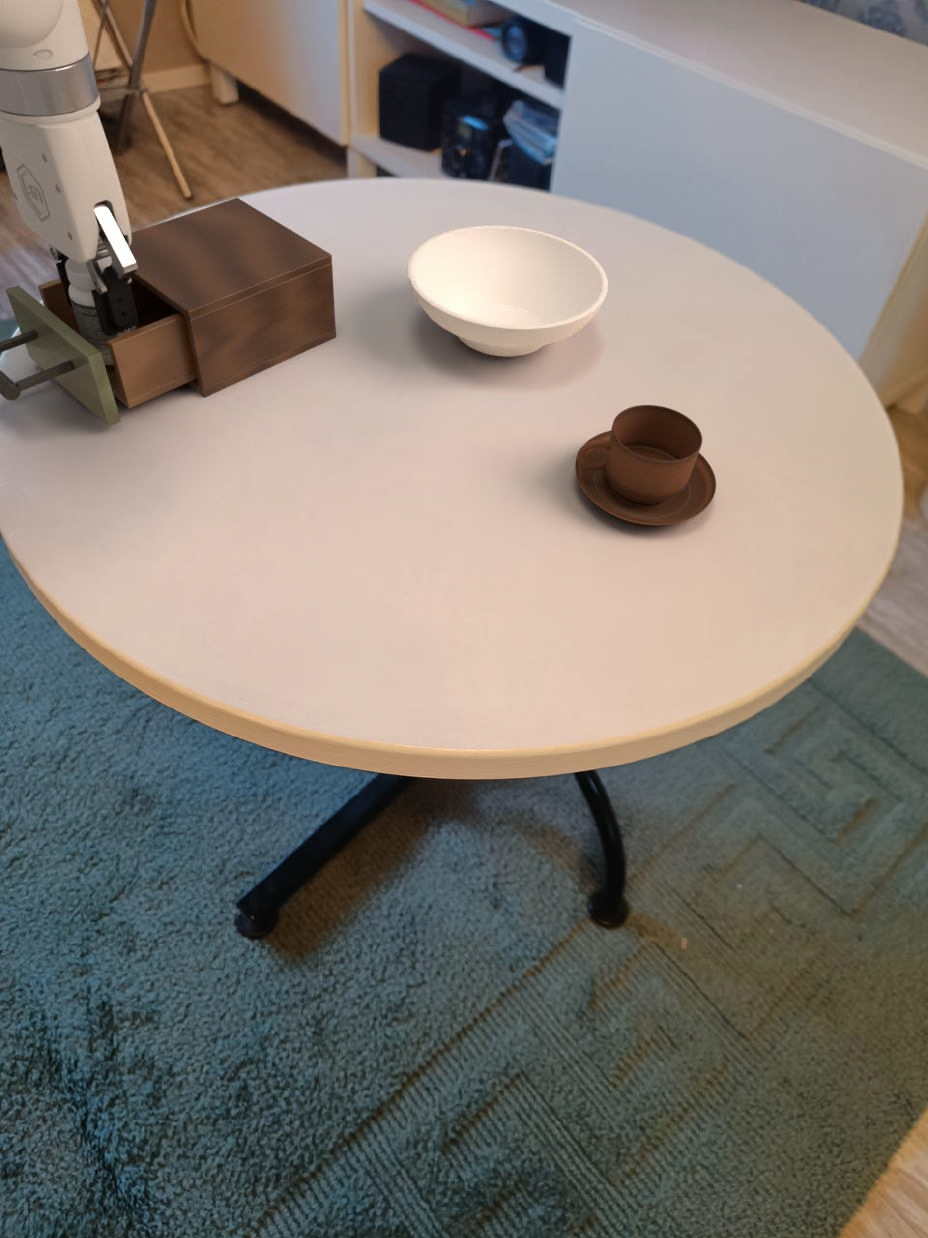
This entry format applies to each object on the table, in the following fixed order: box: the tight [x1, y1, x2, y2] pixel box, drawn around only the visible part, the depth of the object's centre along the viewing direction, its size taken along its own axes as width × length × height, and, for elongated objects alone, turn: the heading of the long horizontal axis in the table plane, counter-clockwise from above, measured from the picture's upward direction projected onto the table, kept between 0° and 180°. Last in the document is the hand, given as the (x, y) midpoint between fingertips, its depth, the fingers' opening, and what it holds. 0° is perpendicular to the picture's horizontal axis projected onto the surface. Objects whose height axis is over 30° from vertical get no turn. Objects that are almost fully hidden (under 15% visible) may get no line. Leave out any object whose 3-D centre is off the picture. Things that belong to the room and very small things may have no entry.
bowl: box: [407, 224, 609, 358], centre depth 86 cm, size 20×20×7 cm
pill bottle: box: [65, 256, 137, 365], centre depth 75 cm, size 5×5×8 cm
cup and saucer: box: [574, 404, 717, 526], centre depth 73 cm, size 12×12×6 cm
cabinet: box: [97, 197, 337, 398], centre depth 83 cm, size 16×15×9 cm
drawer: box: [0, 277, 197, 427], centre depth 77 cm, size 21×13×7 cm, turn 136°
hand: (103, 313), depth 75 cm, fingers closed on pill bottle, 4 cm apart
